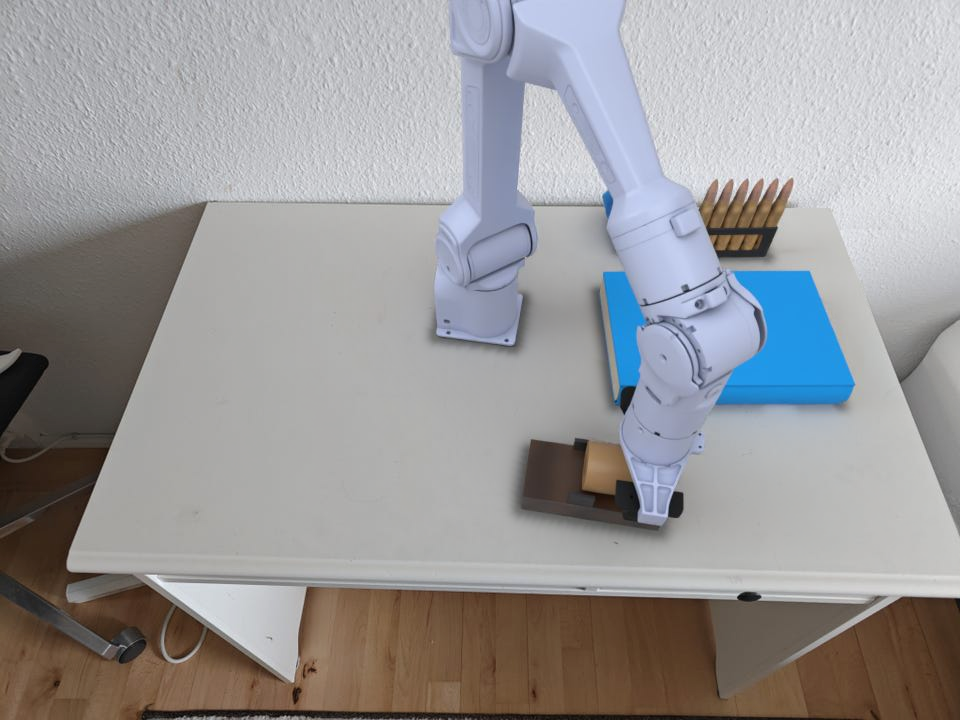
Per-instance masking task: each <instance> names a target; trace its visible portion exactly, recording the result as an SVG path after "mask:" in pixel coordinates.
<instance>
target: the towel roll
mask: <svg viewBox="0 0 960 720" xmlns="http://www.w3.org/2000/svg"><path fill="white" fill-rule="evenodd" d="M587 440H588V443H587V447H586V452H585V459H584V466H583V476H582V490H583V491H590V492H596V493H603V494H609V495H615V489H616V480H623V481H629V482H633V479H632V477H631V474H630V471H629V468H628V465H627V462H626V459H625V456H624V453H623V450H622V447H621V445H620V443H615V442H614V443H613V442H607V441H600V440H593V439H587Z"/></svg>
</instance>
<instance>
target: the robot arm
mask: <svg viewBox="0 0 960 720" xmlns="http://www.w3.org/2000/svg"><path fill="white" fill-rule="evenodd" d="M627 1H628V0H448V22H449V25H448V26H449V27H448V28H449V39H450V51H451V54H452V55H454V56H457V57H460V81H461V82H460V83H461V84H460V85H461V86H460V87H461V134H462V135H461V137H462V139H461V141H462V142H461V143H462V187H463V189H462V193H461V194H460V195H459V196H458V198H456V199H455V200H454V201H453V202H452V203H451V204H450V205H449V206H448V207H447V209H445V210H444V211H443V213H441V215H440V216H439V218H438V230H437V233H436V236H435V240H434V249H435V254H436V258H437V260H438V261H437V264H436V265H437V266H436V269H435V276H434V287H433V299H434V308H435V316H436V330H435V334H436V336H437V337H441V338H448V339H455V340H463V341H468V342H469V341H470V342H478V343H485V344H492V345H493V344H494V345H500V346H507V347H513V346H515V344H516V340H517V334H518V328H519V322H520V316H521V311H522V305H523V300H524V296H523V294H522V293H518V290H519V289H518V288H519V271H520V270H521V269H522V268H524V267H525V265H526V258H529V257H531V256H533V255H534V254H536V252H537V249H538V242H539V237H538V231H537V227H536V223H535V215H536V212H535V209H534V207H533V205H532V204H531V203H530V201H529V199H528V198H527V197H526V195H524V194H523V193H522V191H520V190H518V187H519V173H520V160H521V158H520V157H521V143H522V133H523V119H524V118H523V117H524V115H523V114H524V104H525V89H526V84H530V85H534V86H537V87H541V88H544V89H545V88H546V89H549V90H553V91H556V92H557V95H558V96H559V98H560V100H561V102H562V104H563V106H564V108H565V109H566V111H567V114H568V115H569V118H570V119H571V121H572V123H573V125H574V127H575V129H576V131H577V133H578V134H579V137H580V139H581V141H582V142H583V144H584V146H585V148H586V150H587V152H588V154H589V156H590V158H591V160H592V162H593V163H594V166H595V167H596V169H597V171H598V173H599V175H600V177H601V179H602V182H603V183H604V185H605V186H606V188H607V190H609V192H610V194H611V196H612V198H613V206H612V210H611V213H610V216H609V219H607V224H606V230H607V233H608V235H609V237H610V240H611V243H612V246H613V247H614V249H615V252H616V255H617V258H618V259H619V261H620V264H621V266H622V269H623V271H625V273H626V276H627V278H628V281H629V283H630V285H631V288H632V290H633V292H634V295H635V297H636V299H637V302H638V304H639V307H640V309H641V311H642V313H643V316H644V318H645V321H646V322H647V323H646V324H645V325H643V326H642V328H641V326H638V327H637V345H638V349H639V352H640V356H641V365H640V368H639V373H640V374H641V375H640V379H639V381H638V384H637V387H635V386H627V387H625V388H623V389H622V391H621V398H620V404H619V408H620V409H621V412H622V414H623V417H622V420H621V422H620V425H619V429H618V441H619V444H620V445H621V447H622V450H623V453H624V456H625V459H626V462H627V465H628V468H629V471H630V474H631V477H632V479H633V482H629V481H623V480H616V489H615V502H616V507H617V508H618V509H621V510H622V516H623V519H624V520H628V521H634V522H640V523H646V524H652V525H659V526H661V527H663V525H664V524H665V523H666V521H667V519H668V518H671V519H672V518H673V519H679V518H680V517H681V516H682V514H683V513H684V508H685V504H684V503H685V501H684V498H685V497H684V496H685V495H684V492H683V491H677V490H676V487H677V484H678V482H679V480H680V478H681V475H682V473H683V471H684V469H685V466H686V464H687V461H688V459H689V457H690V456H691V455H695V456H699V455H702V454H703V452H704V451H705V449H706V444H705V443H706V439H705V438H706V437H705V433H704V432H703V431H702V430H701V429H702V428H703V426H704V424H705V422H706V421H707V419H708V417H709V415H710V414H711V412H712V410H713V408H714V406H715V405H716V404H715V403H716V401H717V399H718V398H719V396H720V394H721V392H722V390H723V388H724V386H725V384H726V383H727V381H728V379H729V377H730V376H731V374H732V372H733V369H734V368H736V367H737V366H739V365H741V364H742V363H744V362H746V361H748V360H749V359H751V358H752V357H753V356H754V355H755V354H757V353H759V352H760V351H761V350H762V349H763V347H764V345H765V343H766V340H767V326H766V321H765V318H764V315H763V309H762V307H761V305H760V304H759V302H758V301H757V300H756V298H755V297H754V296H753V295H752V294H751V293H750V292H749V291H748V290H747V289H746V288H744V287H743V286H742V285H741V284H740V283H739V282H738V281H737V279H736V277H735V275H734V273H731V271H732V270H731V269H730V268H728V267H726V268H723V267H722V265H721V263H720V260H719V257H717V255H716V252H715V250H714V247H713V245H712V242H711V240H710V237H709V235H708V232H707V230H706V227H705V225H704V222H703V220H702V217H701V215H700V212H699V207H698V205H697V203H696V200H695V198H694V194H693V192H692V191H691V189H690V188H689V187H687V186H685V185H682V184H680V183H678V182H676V181H674V180H672V179H670V178H668V177H667V176H666V175H665V173H664V170H663V166H662V163H661V160H660V157H659V154H658V151H657V148H656V144H655V141H654V138H653V135H652V131H651V127H650V125H649V123H648V118H647V115H646V113H645V112H646V111H645V109H644V106H643V103H642V100H641V97H640V94H639V93H640V92H639V90H638V87H637V84H636V81H635V77H634V75H633V71H632V67H631V64H630V62H629V59H628V58H629V57H628V55H627V52H626V48H625V46H624V42H623V39H622V36H621V31H620V29H621V26H622V23H623V20H624V16H625V12H626V8H627Z"/></svg>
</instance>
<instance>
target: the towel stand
mask: <svg viewBox="0 0 960 720" xmlns="http://www.w3.org/2000/svg"><path fill="white" fill-rule="evenodd" d="M588 440H589V439H587V438H580V437H575V438H574V441H573V444H568V443H561V442H553V441H547V440H541V439H535V438H534V439H533V438H531V439H530V443H529V450H528V457H527V464H526V470H525V478H524V484H523V490H522V498H521V507H520V508H521V510H526V511H532V512H533V511H534V512H539V513H544V514H545V513H546V514H551V515H556V516H564V517H570V518H576V519H582V520H589V521H595V522H601V523H607V524H613V525H618V526H619V525H620V526H625V527H626V526H627V527H632V528H639V529H645V530H649V531H650V530H651V531H659V529H660V528H661V527H662V526H659V525H652V524H646V523H640V522H634V521H628V520H624V519H623V516H622V510H621V509H618V508H617V507H616V502H615V495H609V494H603V493H596V492H590V491H583V490H582V476H583V466H584V459H585V452H586V447H587V443H588Z"/></svg>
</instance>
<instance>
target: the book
mask: <svg viewBox="0 0 960 720" xmlns="http://www.w3.org/2000/svg"><path fill="white" fill-rule="evenodd" d="M730 271H731V273H734V275H735V277H736V279H737V281H738V282H739V283H740V284H741V285H742V286H743V287H744V288H746V289H747V290H748V291H749V292H750V293H751V294H752V295H753V296H754V297H755V298H756V300H757V301H758V302H759V304H760V305H761V307H762V309H763V315H764V318H765V321H766V326H767V340H766V343H765V345H764V347H763V349H762V350H761V351H760V352H759V353H757V354H755V355H754V356H753V357H752V358H751V359H749V360H748V361H746V362H744V363H742V364H741V365H739V366H737V367H736V368H734V369H733V372H732V374H731V376H730V377H729V379H728V381H727V383H726V384H725V386H724V388H723V390H722V392H721V394H720V396H719V398H718V399H717V401H716V403H715V405H839V404H840V403H845V402H846V401H847V400H848V399H849V398H850V397H851V395H852V394H853V390H854V387H856V382H855V380H854V378H853V375H852V372H851V369H850V368H849V365H848V363H847V360H846V358H845V355H844V353H843V349H842V348H841V344H840V343H839V340H838V338H837V335H836V333H835V331H834V330H835V329H834V328H833V325H832V323H831V320H830V318H829V315H828V312H827V310H826V308H825V305H824V303H823V301H822V298H821V296H820V292H819V291H818V288H817V285H816V283H815V280H814V278H813V275H812V272H811V270H730ZM598 297H599V305H600V311H601V312H600V313H601V319H602V325H603V333H604V339H605V346H606V354H607V361H608V368H609V376H610V382H611V383H610V384H611V391H612V398H613V404H614V405H620V398H621V391H622V389H623V388H625V387H627V386H635V387H637V384H638V381H639V379H640V375H641V374H640V373H639V368H640V365H641V356H640V352H639V349H638V345H637V327H638V326H641V328H642V326H643V325H645V324H646V323H647V322H646V321H645V318H644V316H643V313H642V311H641V309H640V307H639V304H638V302H637V299H636V297H635V295H634V292H633V290H632V288H631V285H630V283H629V281H628V278H627V276H626V273H625V271H624V270H620V271H619V270H618V271H617V270H616V271H609V270H607V271H603V272H602V280H601V285H600V290H599V291H598Z"/></svg>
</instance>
